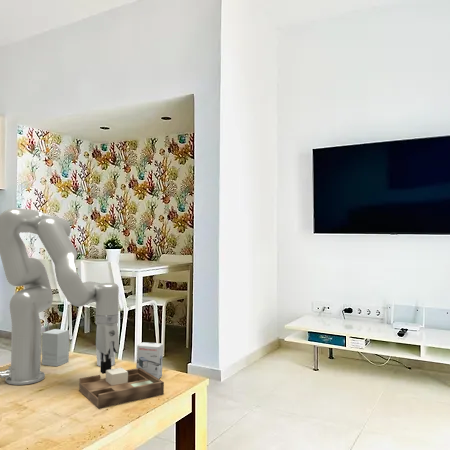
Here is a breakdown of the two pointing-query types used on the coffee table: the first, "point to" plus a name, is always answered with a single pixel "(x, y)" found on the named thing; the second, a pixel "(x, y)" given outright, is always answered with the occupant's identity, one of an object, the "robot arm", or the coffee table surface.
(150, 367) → the ink box
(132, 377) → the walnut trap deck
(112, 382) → the ivory block
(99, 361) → the light grey cylinder
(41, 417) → the coffee table surface
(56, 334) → the supplement box
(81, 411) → the coffee table surface
